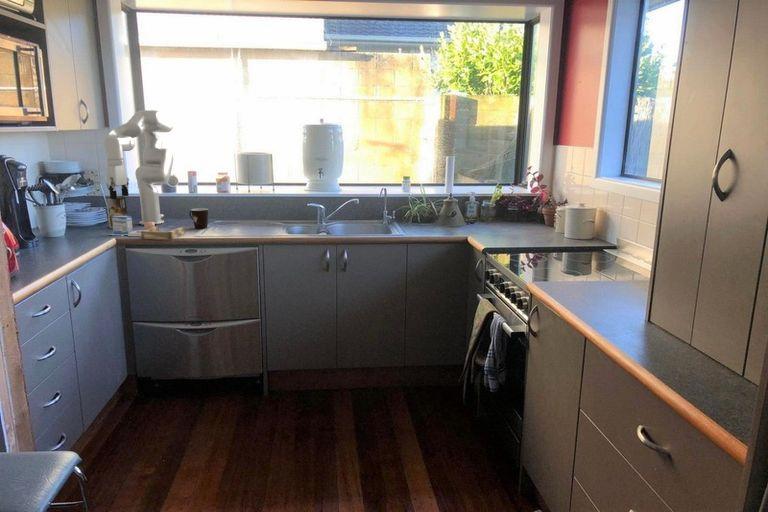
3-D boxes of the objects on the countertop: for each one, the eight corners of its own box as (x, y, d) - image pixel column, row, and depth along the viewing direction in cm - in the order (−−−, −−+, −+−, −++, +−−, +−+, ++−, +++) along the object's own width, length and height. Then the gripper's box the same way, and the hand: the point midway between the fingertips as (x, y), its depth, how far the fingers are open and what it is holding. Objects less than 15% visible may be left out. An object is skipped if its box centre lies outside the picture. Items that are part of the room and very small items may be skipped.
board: (120, 232, 286) (120, 231, 286) (137, 232, 284) (136, 231, 284) (108, 235, 276) (108, 235, 276) (125, 236, 275) (125, 235, 275)
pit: (136, 233, 281) (136, 230, 280) (149, 234, 280) (149, 230, 280) (128, 236, 274) (128, 233, 274) (142, 237, 273) (141, 233, 273)
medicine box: (113, 233, 279) (111, 216, 277) (118, 232, 283) (116, 215, 281) (128, 234, 278) (126, 217, 276) (133, 232, 282) (131, 215, 280)
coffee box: (127, 225, 304) (124, 195, 301) (129, 227, 299) (126, 197, 295) (108, 226, 299) (105, 197, 296) (110, 228, 294) (107, 198, 290)
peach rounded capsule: (148, 231, 288) (147, 221, 287) (157, 231, 288) (156, 221, 287) (142, 232, 284) (141, 223, 282) (152, 233, 283) (151, 223, 282)
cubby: (156, 233, 282) (155, 226, 281) (184, 234, 280) (183, 227, 279) (141, 238, 269) (140, 231, 268) (171, 239, 267) (170, 232, 266)
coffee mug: (211, 228, 295) (210, 209, 293) (195, 230, 291) (193, 211, 288) (205, 225, 305) (203, 207, 302) (189, 226, 300) (187, 208, 298)
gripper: (118, 160, 281) (122, 194, 285) (97, 163, 264) (101, 199, 268) (132, 161, 280) (136, 195, 284) (112, 164, 263) (116, 200, 268)
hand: (119, 197), depth 276 cm, fingers open, 9 cm apart
